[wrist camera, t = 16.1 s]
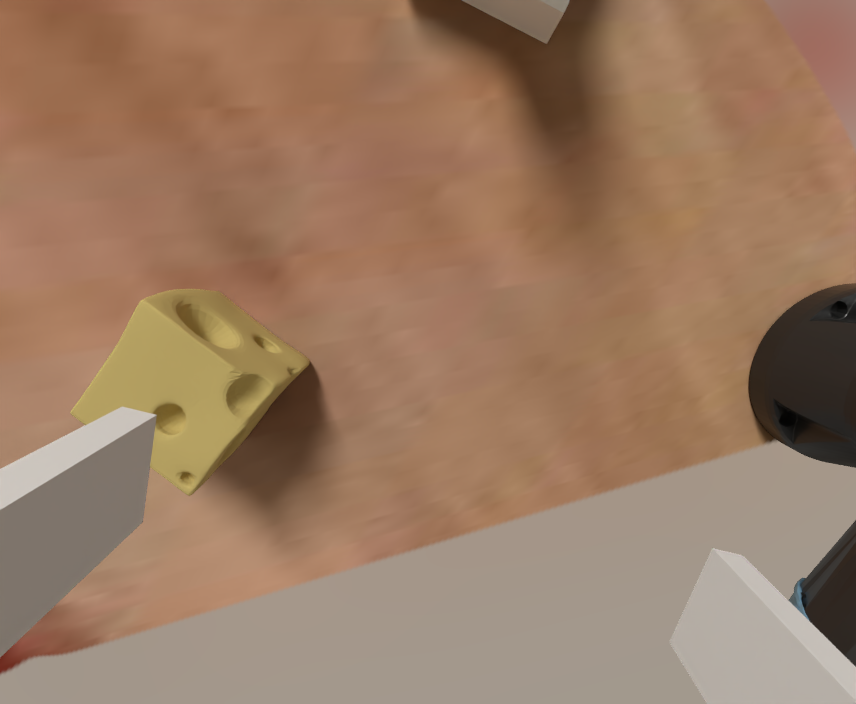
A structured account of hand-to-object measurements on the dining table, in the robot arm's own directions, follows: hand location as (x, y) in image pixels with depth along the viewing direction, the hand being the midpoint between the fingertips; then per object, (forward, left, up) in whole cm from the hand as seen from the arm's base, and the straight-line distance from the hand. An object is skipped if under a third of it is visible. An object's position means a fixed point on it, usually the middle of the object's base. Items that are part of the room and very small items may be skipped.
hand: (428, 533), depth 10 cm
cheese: (+16, +8, -29) cm, 34 cm away
